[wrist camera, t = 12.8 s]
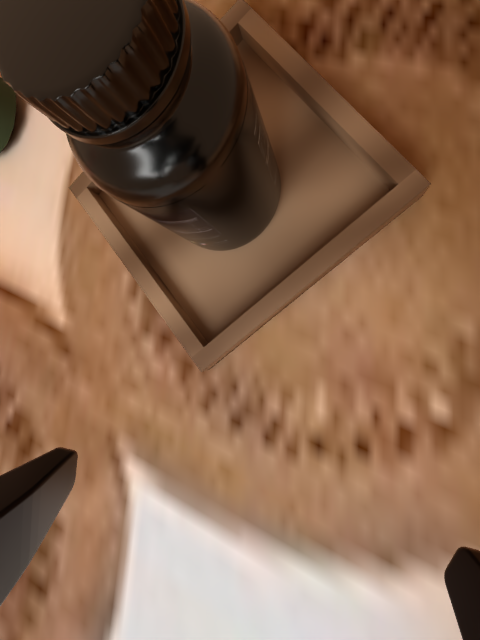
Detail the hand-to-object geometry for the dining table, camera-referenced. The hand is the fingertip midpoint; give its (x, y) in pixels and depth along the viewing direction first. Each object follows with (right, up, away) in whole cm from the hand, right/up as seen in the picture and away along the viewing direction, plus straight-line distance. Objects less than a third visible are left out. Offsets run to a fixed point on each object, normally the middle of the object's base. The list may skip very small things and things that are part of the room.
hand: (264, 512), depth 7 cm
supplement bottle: (-1, +12, +12) cm, 17 cm away
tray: (-1, +12, +12) cm, 17 cm away
